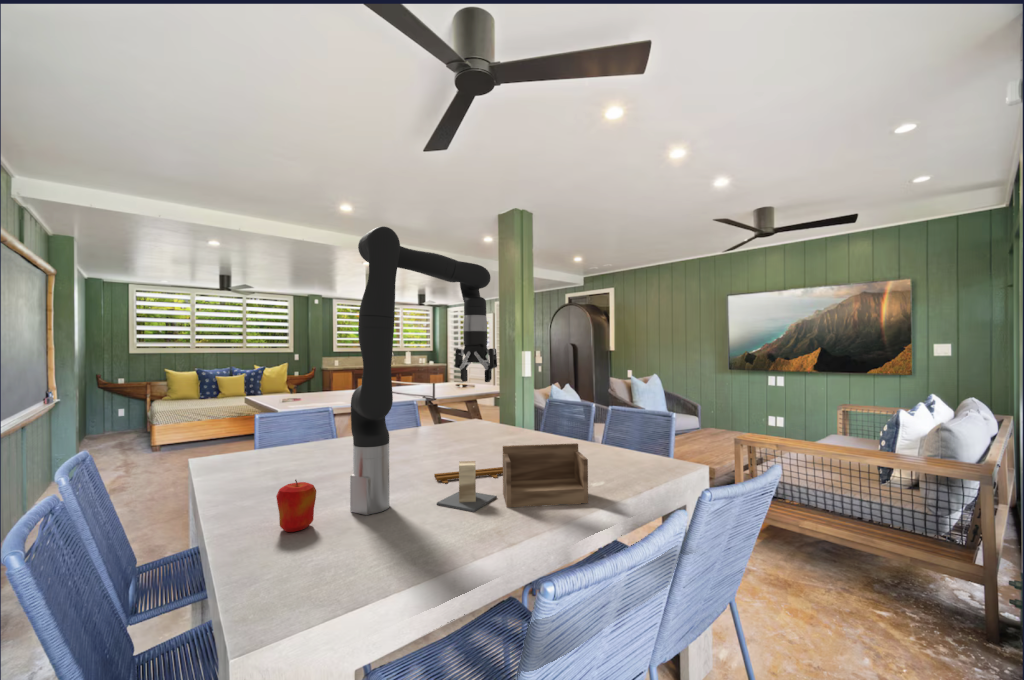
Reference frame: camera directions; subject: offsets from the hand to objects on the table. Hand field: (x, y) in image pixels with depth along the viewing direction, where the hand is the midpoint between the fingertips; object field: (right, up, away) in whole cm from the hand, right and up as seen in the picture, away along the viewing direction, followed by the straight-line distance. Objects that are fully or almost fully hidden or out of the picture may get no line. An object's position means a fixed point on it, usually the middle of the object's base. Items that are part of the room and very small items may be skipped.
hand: (475, 381), depth 138 cm
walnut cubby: (+20, -32, -13) cm, 40 cm away
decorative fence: (-2, -33, +9) cm, 34 cm away
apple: (-40, -32, -34) cm, 61 cm away
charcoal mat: (-1, -32, -16) cm, 36 cm away
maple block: (-1, -31, -16) cm, 35 cm away
